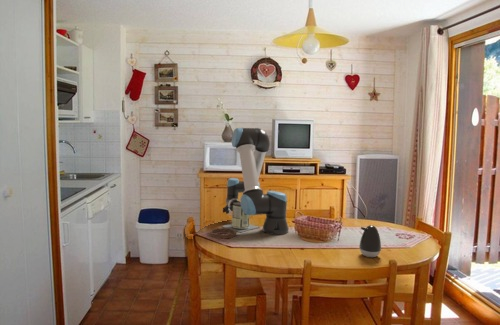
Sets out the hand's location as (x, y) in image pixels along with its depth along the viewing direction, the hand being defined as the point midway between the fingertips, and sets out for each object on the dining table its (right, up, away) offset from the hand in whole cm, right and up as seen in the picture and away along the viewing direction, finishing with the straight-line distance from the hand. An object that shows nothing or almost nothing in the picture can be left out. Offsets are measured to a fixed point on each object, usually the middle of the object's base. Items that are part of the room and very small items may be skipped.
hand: (242, 213), depth 234 cm
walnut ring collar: (-10, -10, -12) cm, 19 cm away
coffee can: (-1, -9, +2) cm, 9 cm away
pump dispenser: (+63, -16, -39) cm, 76 cm away
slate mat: (-1, -9, +4) cm, 10 cm away
